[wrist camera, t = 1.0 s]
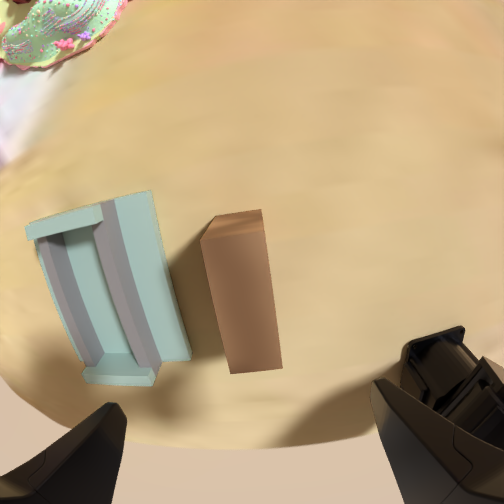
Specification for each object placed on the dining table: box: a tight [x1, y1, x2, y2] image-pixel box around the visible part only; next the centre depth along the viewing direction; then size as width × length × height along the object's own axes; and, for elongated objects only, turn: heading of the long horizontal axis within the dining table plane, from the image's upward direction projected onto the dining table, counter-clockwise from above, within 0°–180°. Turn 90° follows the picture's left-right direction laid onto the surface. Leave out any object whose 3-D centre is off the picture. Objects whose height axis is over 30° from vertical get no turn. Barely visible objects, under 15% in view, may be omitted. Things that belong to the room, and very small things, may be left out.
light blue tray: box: [25, 190, 192, 386], centre depth 19 cm, size 11×13×4 cm
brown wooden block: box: [200, 209, 283, 374], centre depth 18 cm, size 3×8×6 cm, turn 9°
